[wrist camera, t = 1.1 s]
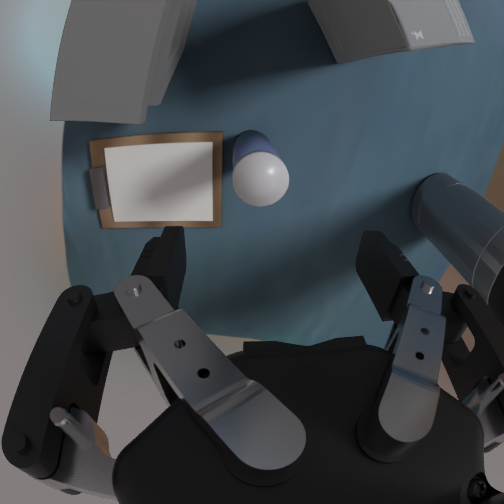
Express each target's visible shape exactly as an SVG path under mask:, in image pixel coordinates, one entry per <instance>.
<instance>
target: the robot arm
mask: <svg viewBox="0 0 504 504" xmlns="http://www.w3.org/2000/svg"><path fill="white" fill-rule="evenodd" d="M411 216H412V220H413V223H414V225H415V226H416V227H417V229H418V230H419V231H420V232H421V233H422V234H423V235H424V236H425V237H426V238H427V239H428V240H429V241H430V242H431V243H432V244H433V245H434V246H435V247H436V248H437V249H438V250H439V251H440V252H441V253H442V255H443V256H444V257H445V258H446V259H447V260H448V261H449V262H450V263H451V264H452V265H453V267H454V268H455V269H456V270H457V271H458V272H459V273H460V274H461V276H462V277H463V278H464V279H465V280H466V282H467V283H468V284H469V285H470V286H469V285H465V284H460V285H458V287H457V289H456V290H455V292H454V293H449V292H444V291H442V287H441V286H440V284H439V283H438V282H437V281H435V280H434V279H432V278H430V277H428V276H424V275H419V274H418V272H417V271H416V270H415V268H414V267H413V266H412V264H411V263H410V262H409V261H408V259H407V258H406V257H405V255H403V253H402V252H401V250H400V249H399V248H398V247H397V246H395V245H394V244H392V243H391V242H389V240H388V239H387V238H386V237H385V235H384V234H383V233H382V232H381V231H368V230H366V231H364V233H363V235H362V239H361V243H360V247H359V251H358V254H357V258H356V271H357V273H358V275H359V277H360V279H361V281H362V283H363V284H364V286H365V288H366V290H367V292H368V294H369V296H370V298H371V300H372V302H373V304H374V306H375V308H376V309H377V311H378V313H379V315H380V317H381V319H382V321H391V320H393V321H394V323H393V325H392V327H391V330H390V333H389V336H388V338H387V341H386V344H385V347H384V349H382V348H379V347H376V346H372V345H367V344H366V342H365V339H364V337H363V336H355V337H343V338H335V339H332V340H328V341H325V342H322V343H318V344H315V345H311V346H302V345H296V344H290V343H283V342H277V341H256V342H255V341H252V342H244V344H243V351H240V352H236V353H234V354H230V355H228V356H225V355H224V354H223V353H222V351H221V350H220V349H219V348H218V347H217V346H216V345H215V344H214V343H213V342H212V341H211V340H210V339H209V337H208V336H207V335H206V334H205V333H204V332H203V331H202V330H201V329H200V328H199V326H198V325H197V324H196V323H195V322H194V321H193V320H192V318H191V317H190V316H189V315H188V314H187V313H186V312H185V311H184V310H183V309H182V308H178V303H179V299H180V294H181V290H182V285H183V281H184V276H185V272H186V249H185V237H184V228H183V226H165V228H164V230H163V233H162V235H161V237H153V238H152V239H151V240H150V241H148V242H147V243H146V244H145V246H144V249H143V252H142V253H141V255H140V258H139V259H138V261H137V263H136V265H135V267H134V269H133V272H132V274H131V276H129V277H126V278H124V279H122V280H120V281H119V282H118V283H117V284H116V286H115V288H114V292H110V293H106V294H100V295H95V296H93V293H92V291H91V289H90V288H89V287H87V286H84V285H76V286H72V287H70V288H68V289H66V290H65V291H64V292H62V293H61V295H60V296H59V298H58V299H57V301H56V303H55V305H54V307H53V309H52V311H51V313H50V315H49V317H48V319H47V321H46V323H45V325H44V327H43V329H42V331H41V333H40V335H39V337H38V339H37V342H36V344H35V346H34V348H33V351H32V353H31V355H30V357H29V360H28V362H27V365H26V367H25V370H24V372H23V375H22V377H21V380H20V382H19V385H18V388H17V391H16V393H15V396H14V400H13V402H12V406H11V408H10V411H9V415H8V418H7V422H6V425H5V429H4V432H3V436H2V449H3V453H4V455H5V457H6V458H7V460H8V461H9V462H10V463H11V464H12V465H14V466H15V467H17V468H19V469H20V470H22V471H24V472H25V473H27V474H28V475H29V476H31V477H32V478H34V479H36V480H38V481H40V482H42V483H44V484H46V485H48V486H50V487H52V488H54V489H58V490H60V491H63V492H65V493H67V494H71V495H77V494H80V493H82V492H83V493H87V494H91V495H95V496H99V497H103V498H108V499H113V500H118V502H119V504H504V493H502V492H500V491H497V490H496V489H494V488H493V487H491V486H490V484H489V483H488V481H487V479H486V476H485V470H484V453H486V452H490V451H491V450H492V449H494V448H495V447H497V446H498V445H500V444H501V443H502V442H504V212H503V211H502V210H500V209H499V208H498V207H496V206H495V205H494V204H492V203H491V202H489V201H488V200H487V199H485V198H484V197H482V196H481V195H479V194H478V193H476V192H475V191H473V190H472V189H470V188H469V187H467V186H466V185H464V184H463V183H461V182H459V181H458V180H456V179H454V178H453V177H451V176H449V175H448V174H444V173H437V174H434V175H432V176H430V177H428V178H427V179H426V180H425V181H424V182H422V184H421V185H420V186H419V188H418V189H417V191H416V193H415V195H414V198H413V201H412V206H411ZM177 308H178V309H177ZM467 327H469V329H470V331H471V332H472V334H473V336H474V338H475V345H474V348H473V350H472V351H471V352H469V350H468V348H467V346H466V344H465V343H464V341H463V339H462V337H461V336H462V334H463V333H464V331H465V330H466V328H467ZM132 347H133V348H134V350H135V352H136V354H137V355H138V357H139V359H140V360H141V362H142V364H143V365H144V367H145V369H146V370H147V372H148V373H149V375H150V376H151V378H152V380H153V381H154V383H155V385H156V386H157V388H158V390H159V392H160V394H161V396H162V397H163V399H164V400H165V402H166V404H167V405H168V406H169V407H168V408H167V409H166V410H165V411H164V412H163V413H162V414H161V415H160V416H159V417H158V418H156V419H155V420H154V421H153V422H152V423H151V424H150V425H149V426H148V427H147V428H146V429H145V430H143V431H142V432H141V433H140V434H139V435H138V436H137V437H136V438H135V439H133V440H132V441H131V442H130V443H129V444H128V445H127V446H126V447H125V448H124V449H123V450H122V451H121V452H120V454H119V455H118V457H117V459H113V458H112V457H111V455H110V453H109V443H108V438H107V436H106V434H105V432H104V431H103V430H102V429H101V428H100V427H99V426H98V425H97V420H98V415H99V410H100V405H101V400H102V395H103V391H104V386H105V382H106V377H107V373H108V369H109V365H110V360H111V357H112V353H113V351H116V350H121V349H127V348H132ZM441 360H442V362H443V364H444V366H445V369H446V371H447V373H448V375H449V378H450V380H451V382H452V385H453V387H454V389H455V392H456V394H457V397H458V399H459V400H457V399H456V398H454V397H453V396H451V395H450V394H449V393H447V392H446V391H444V390H443V389H442V388H440V387H439V385H438V377H439V371H440V365H441Z"/></svg>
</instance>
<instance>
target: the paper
mask: <svg viewBox="0 0 504 504" xmlns="http://www.w3.org/2000/svg"><path fill="white" fill-rule="evenodd" d="M104 151H105V161H106V169H107V177H108V185H109V192H110V198H111V205H112V211H113V217H114V222H129V221H213V179H212V164H213V142H179V143H157V144H142V145H129V146H118V147H109V148H104Z"/></svg>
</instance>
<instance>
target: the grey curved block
mask: <svg viewBox="0 0 504 504" xmlns="http://www.w3.org/2000/svg"><path fill="white" fill-rule="evenodd" d="M197 1H198V0H72V1H71V5H70V8H69V11H68V15H67V19H66V22H65V26H64V30H63V34H62V38H61V43H60V48H59V53H58V59H57V64H56V70H55V76H54V84H53V92H52V101H51V113H50V121H90V122H109V123H123V124H135V125H140V124H142V123H145V122H146V115H147V109H148V106H156V105H160V104H161V101H162V99H163V97H164V94H165V92H166V89H167V87H168V85H169V82H170V80H171V78H172V75H173V73H174V71H175V69H176V66H177V64H178V62H179V60H180V58H181V56H182V54H183V51H184V48H185V44H186V40H187V36H188V32H189V29H190V25H191V22H192V18H193V15H194V11H195V8H196V5H197Z"/></svg>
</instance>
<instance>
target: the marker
mask: <svg viewBox="0 0 504 504" xmlns="http://www.w3.org/2000/svg"><path fill="white" fill-rule="evenodd" d="M288 184H289V174H288V171H287V168H286V167H285V165H284V163H283V162H282V160H281V159H280V157H279V155H278V154H277V152H276V151H275V149H274V147H273V146H272V144H271V143H270V141H269V140H268V138H267V137H266V136H265V135H263V134H262V133H260V132H258V131H254V130H248V131H245V132H243V133H241V134H240V135H239V136H238V137H237V139H236V140H235V142H234V145H233V187H234V190H235V192H236V194H237V195H238V197H239V198H240V199H241V200H243V201H244V202H245V203H247V204H250V205H253V206H267V205H271V204H273V203H275V202H277V201H278V200H279V199H280V198H281V197H282V196H283V195H284V194H285V192H286V190H287V188H288Z"/></svg>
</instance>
